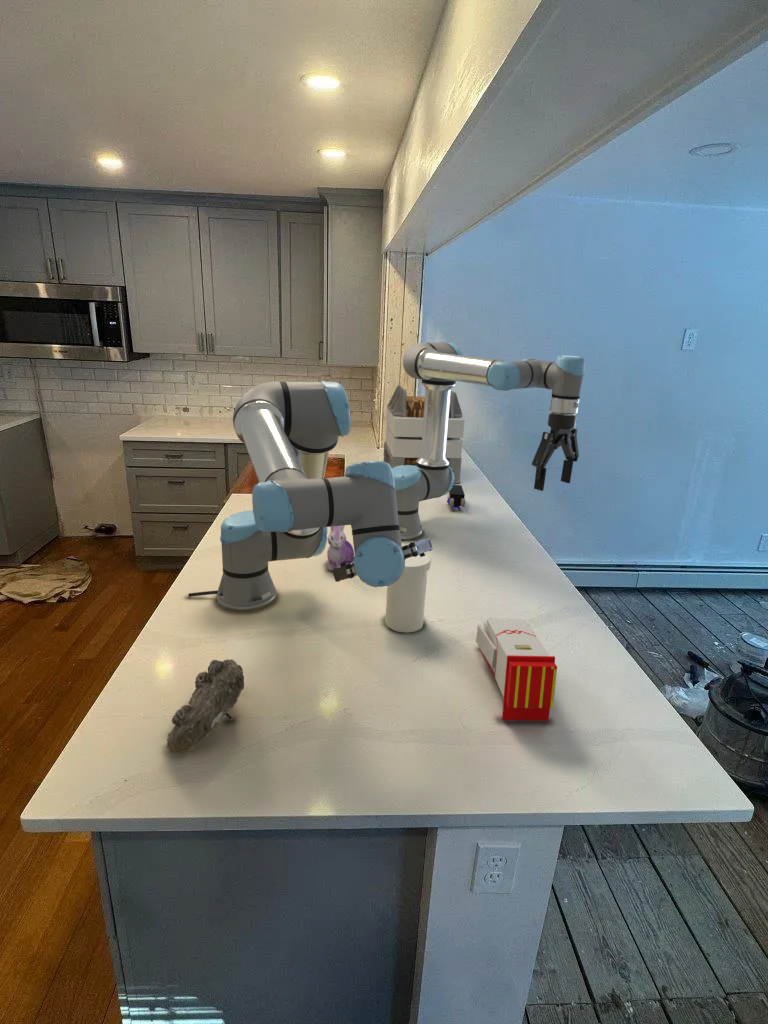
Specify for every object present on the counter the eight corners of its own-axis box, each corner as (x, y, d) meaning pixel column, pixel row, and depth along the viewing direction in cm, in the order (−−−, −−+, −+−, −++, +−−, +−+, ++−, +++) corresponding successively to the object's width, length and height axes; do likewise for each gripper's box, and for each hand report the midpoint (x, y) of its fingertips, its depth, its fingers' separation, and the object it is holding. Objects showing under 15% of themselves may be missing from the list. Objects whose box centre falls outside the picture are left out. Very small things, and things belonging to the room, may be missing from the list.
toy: (523, 604, 135) (566, 662, 106) (518, 656, 138) (559, 727, 109) (472, 603, 135) (501, 661, 105) (468, 655, 138) (496, 726, 108)
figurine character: (465, 515, 224) (460, 499, 237) (467, 498, 221) (462, 483, 234) (448, 515, 224) (444, 499, 237) (450, 498, 220) (445, 482, 234)
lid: (406, 579, 131) (407, 570, 130) (376, 563, 139) (376, 554, 138) (439, 567, 138) (440, 559, 137) (408, 552, 146) (409, 544, 145)
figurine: (332, 575, 167) (332, 527, 162) (319, 561, 175) (319, 516, 170) (361, 569, 171) (362, 523, 166) (347, 556, 179) (348, 512, 174)
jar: (403, 636, 137) (407, 570, 131) (377, 620, 144) (380, 556, 138) (431, 624, 143) (436, 560, 137) (405, 608, 150) (409, 547, 144)
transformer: (382, 463, 289) (386, 382, 275) (445, 464, 293) (451, 384, 279) (390, 482, 257) (394, 392, 243) (460, 483, 261) (468, 394, 247)
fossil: (192, 660, 117) (244, 628, 112) (224, 691, 120) (276, 661, 115) (142, 746, 98) (202, 712, 93) (182, 779, 101) (242, 748, 96)
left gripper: (319, 604, 98) (332, 594, 119) (455, 558, 98) (444, 557, 119) (306, 563, 99) (321, 560, 120) (442, 517, 99) (433, 523, 120)
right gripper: (548, 419, 148) (537, 496, 155) (598, 411, 163) (586, 482, 171) (525, 414, 153) (515, 489, 160) (575, 407, 169) (564, 476, 176)
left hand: (383, 558), depth 120 cm, fingers open, 13 cm apart
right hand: (552, 485), depth 166 cm, fingers open, 13 cm apart
